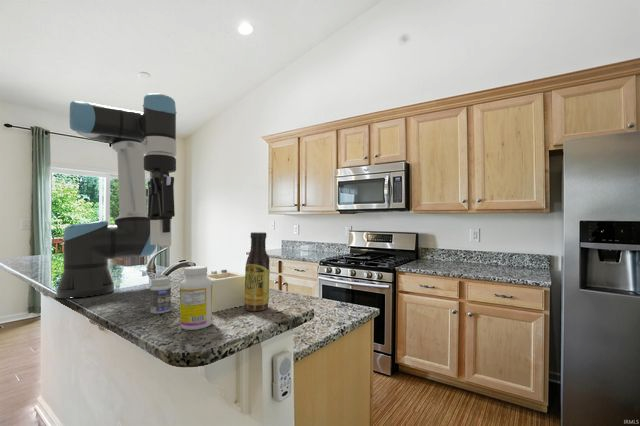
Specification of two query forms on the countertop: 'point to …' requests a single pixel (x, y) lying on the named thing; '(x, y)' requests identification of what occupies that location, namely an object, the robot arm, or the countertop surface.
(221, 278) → the cream open-top box
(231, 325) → the countertop surface
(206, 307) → the supplement bottle
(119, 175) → the robot arm
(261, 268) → the sauce bottle
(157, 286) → the pill bottle
